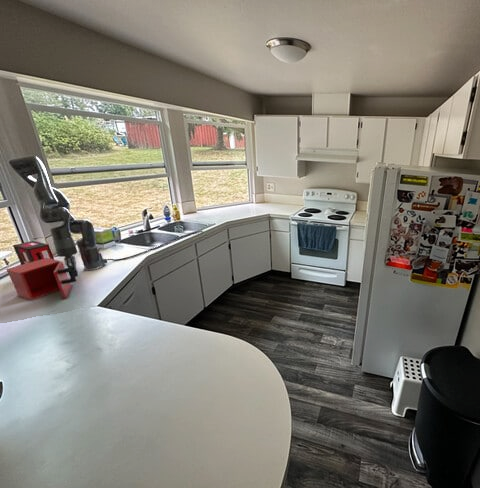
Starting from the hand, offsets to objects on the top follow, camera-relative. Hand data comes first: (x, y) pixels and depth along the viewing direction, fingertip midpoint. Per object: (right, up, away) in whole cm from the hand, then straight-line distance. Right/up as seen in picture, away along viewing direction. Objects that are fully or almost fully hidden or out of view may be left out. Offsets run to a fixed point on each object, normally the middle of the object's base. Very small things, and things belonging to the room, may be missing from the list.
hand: (75, 275), depth 136 cm
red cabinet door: (-6, -9, +5) cm, 12 cm away
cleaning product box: (-43, -2, +22) cm, 48 cm away
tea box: (-46, +15, +69) cm, 84 cm away
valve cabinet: (-22, -9, +4) cm, 24 cm away
